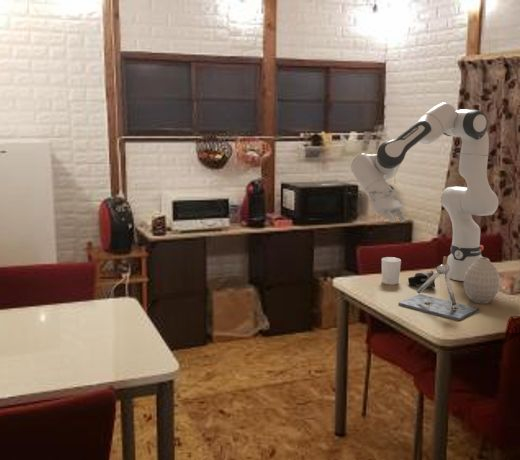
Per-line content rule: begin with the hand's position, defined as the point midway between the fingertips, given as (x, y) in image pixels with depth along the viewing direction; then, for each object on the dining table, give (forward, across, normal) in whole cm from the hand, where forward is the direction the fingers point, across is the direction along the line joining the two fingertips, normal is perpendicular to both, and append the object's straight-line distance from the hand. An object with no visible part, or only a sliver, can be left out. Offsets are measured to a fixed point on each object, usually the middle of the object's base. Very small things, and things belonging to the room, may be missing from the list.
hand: (398, 221), depth 227 cm
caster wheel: (+23, +24, +16) cm, 37 cm away
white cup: (+15, +22, +26) cm, 37 cm away
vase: (+40, +18, -3) cm, 44 cm away
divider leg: (+26, 0, +9) cm, 27 cm away
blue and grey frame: (+34, 0, +6) cm, 35 cm away
